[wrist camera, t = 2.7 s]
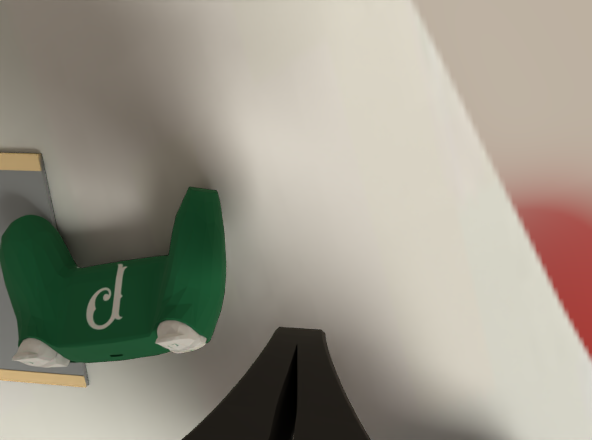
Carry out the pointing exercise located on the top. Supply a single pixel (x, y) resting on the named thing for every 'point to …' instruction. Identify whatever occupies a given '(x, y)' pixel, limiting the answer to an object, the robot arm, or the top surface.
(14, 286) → the gaming controller
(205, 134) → the top surface
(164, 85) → the top surface
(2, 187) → the tray
